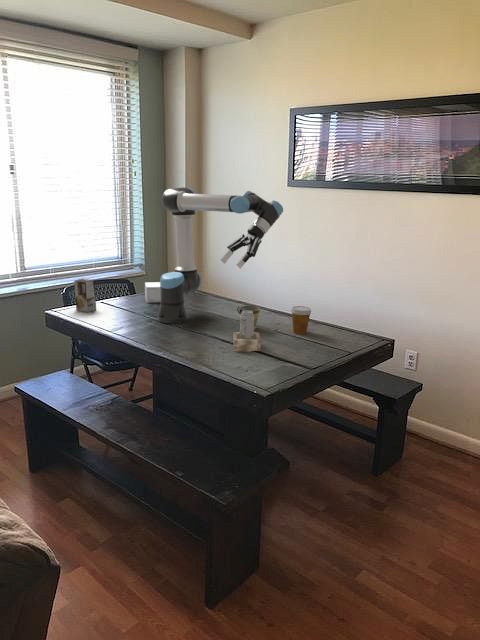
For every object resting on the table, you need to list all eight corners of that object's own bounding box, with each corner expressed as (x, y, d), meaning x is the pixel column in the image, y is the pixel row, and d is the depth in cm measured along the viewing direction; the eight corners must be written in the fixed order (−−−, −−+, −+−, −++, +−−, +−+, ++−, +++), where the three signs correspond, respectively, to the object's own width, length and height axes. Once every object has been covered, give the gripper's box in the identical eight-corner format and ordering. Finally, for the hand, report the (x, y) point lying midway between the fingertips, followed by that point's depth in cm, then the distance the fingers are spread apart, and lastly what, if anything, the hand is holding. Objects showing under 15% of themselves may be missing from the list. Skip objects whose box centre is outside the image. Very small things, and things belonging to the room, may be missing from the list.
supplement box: (146, 303, 300) (146, 286, 297) (144, 297, 312) (144, 282, 309) (176, 302, 304) (176, 286, 301) (173, 296, 316) (173, 281, 313)
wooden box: (234, 351, 224) (234, 340, 223) (233, 343, 235) (233, 332, 233) (260, 351, 225) (260, 340, 223) (257, 343, 235) (258, 332, 234)
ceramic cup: (263, 328, 258) (264, 308, 255) (249, 332, 251) (250, 311, 248) (243, 322, 266) (244, 303, 264) (230, 326, 259) (230, 306, 257)
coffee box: (96, 310, 282) (95, 280, 277) (87, 312, 277) (85, 282, 272) (85, 307, 287) (83, 278, 282) (75, 309, 281) (73, 280, 277)
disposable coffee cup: (311, 331, 255) (313, 307, 252) (307, 336, 247) (309, 311, 243) (292, 328, 258) (293, 304, 255) (287, 334, 249) (289, 309, 246)
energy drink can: (255, 346, 228) (256, 313, 223) (241, 347, 226) (242, 313, 222) (250, 342, 233) (251, 309, 229) (237, 343, 231) (238, 310, 227)
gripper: (279, 238, 236) (250, 274, 232) (248, 232, 256) (221, 265, 252) (270, 226, 232) (240, 263, 228) (239, 221, 252) (211, 254, 248)
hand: (230, 264), depth 240 cm, fingers open, 13 cm apart
